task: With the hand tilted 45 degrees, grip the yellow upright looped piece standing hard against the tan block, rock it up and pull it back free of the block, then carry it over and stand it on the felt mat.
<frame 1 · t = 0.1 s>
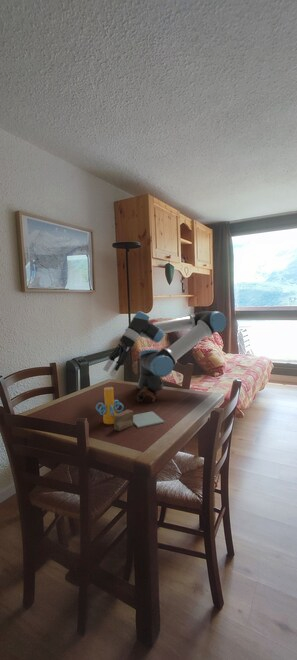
hand: (108, 373, 155), 15 cm above the table, tool tilted 35°, fingers open, 13 cm apart
yellow upright looped piece: (110, 422, 130), on the table
pottery mug: (145, 401, 155), on the table
tan block: (124, 426, 124), on the table
mat: (145, 419, 131), on the table
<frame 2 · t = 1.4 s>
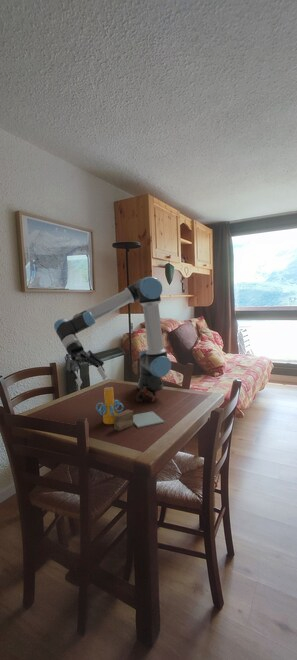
hand: (93, 381, 135), 16 cm above the table, tool tilted 45°, fingers open, 13 cm apart
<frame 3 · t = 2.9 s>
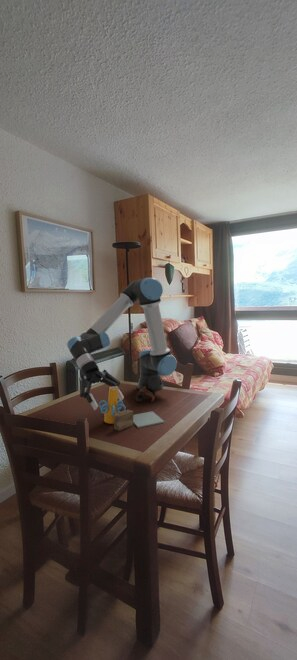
hand: (110, 404, 128), 8 cm above the table, tool tilted 45°, fingers open, 13 cm apart
yellow upright looped piece: (110, 421, 130), on the table, touching gripper
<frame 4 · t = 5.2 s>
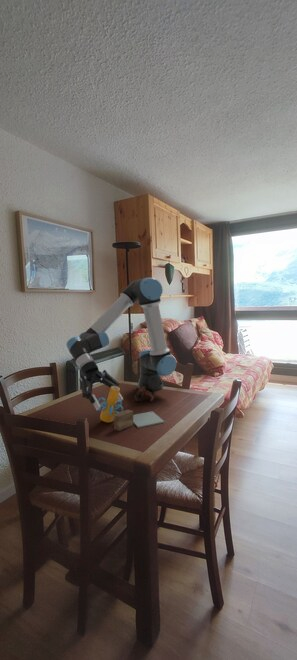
hand: (110, 404, 129), 8 cm above the table, tool tilted 45°, fingers closed on yellow upright looped piece, 12 cm apart
yellow upright looped piece: (106, 419, 131), point 1 cm above the table, touching gripper
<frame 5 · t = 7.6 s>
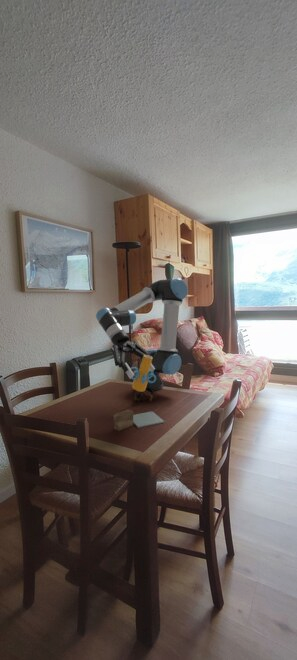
hand: (143, 373, 127), 21 cm above the table, tool tilted 45°, fingers closed on yellow upright looped piece, 12 cm apart
yellow upright looped piece: (138, 389, 128), point 14 cm above the table, touching gripper
when the fingers open (8 cm above the table, at t = 10.5 s): yellow upright looped piece stays where it is, resting on mat.
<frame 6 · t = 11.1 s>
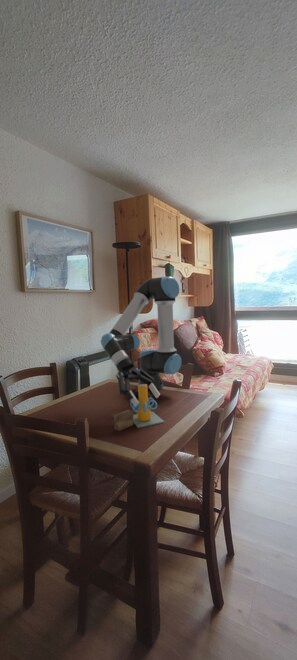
hand: (148, 400, 129), 9 cm above the table, tool tilted 45°, fingers open, 13 cm apart
yellow upright looped piece: (144, 419, 130), resting on mat
pottery mug: (141, 400, 158), on the table
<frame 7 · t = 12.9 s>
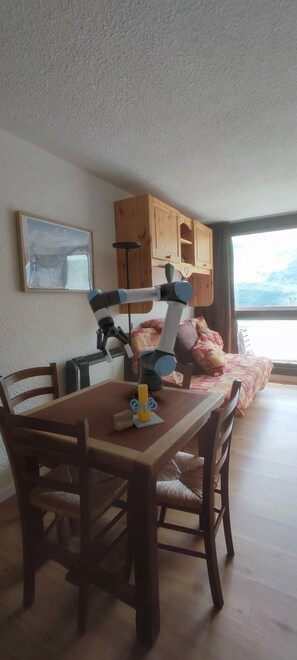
hand: (121, 359, 140), 25 cm above the table, tool tilted 30°, fingers open, 13 cm apart
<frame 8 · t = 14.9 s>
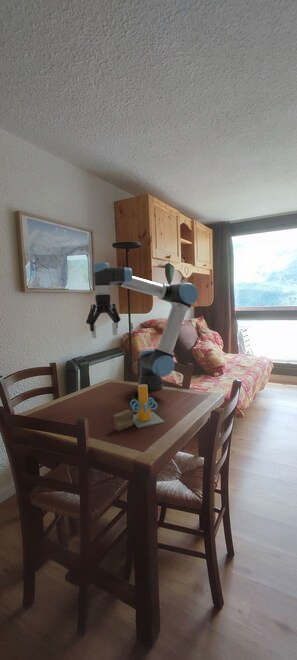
hand: (104, 336, 152), 35 cm above the table, tool pointing down, fingers open, 13 cm apart
at the end: yellow upright looped piece inside the target area on the mat (0.9 cm from its centre), point 0.4 cm above the mat's base; yellow upright looped piece tilted 0°; the gripper is holding nothing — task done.
